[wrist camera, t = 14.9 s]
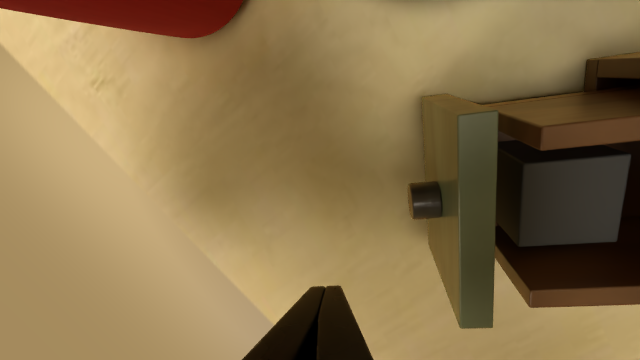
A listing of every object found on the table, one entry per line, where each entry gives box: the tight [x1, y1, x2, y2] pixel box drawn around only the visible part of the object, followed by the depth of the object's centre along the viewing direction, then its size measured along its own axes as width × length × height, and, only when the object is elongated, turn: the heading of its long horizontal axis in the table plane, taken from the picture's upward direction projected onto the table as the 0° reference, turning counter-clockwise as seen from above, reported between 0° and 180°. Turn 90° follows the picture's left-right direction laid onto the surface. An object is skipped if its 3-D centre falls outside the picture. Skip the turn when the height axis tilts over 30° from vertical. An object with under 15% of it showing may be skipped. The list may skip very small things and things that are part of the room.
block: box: [496, 140, 631, 247], centre depth 14 cm, size 4×4×4 cm
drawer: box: [408, 85, 640, 329], centre depth 13 cm, size 12×8×6 cm
